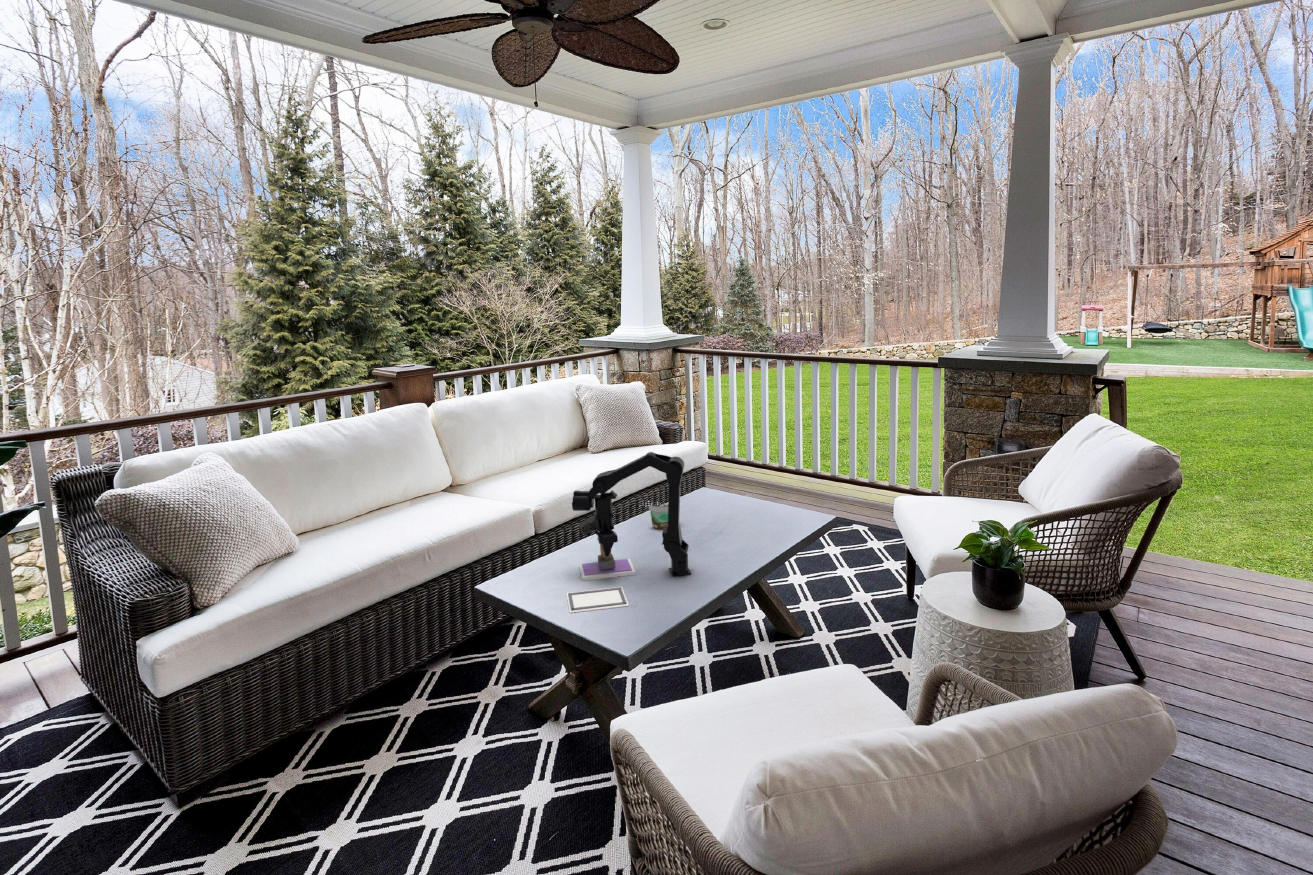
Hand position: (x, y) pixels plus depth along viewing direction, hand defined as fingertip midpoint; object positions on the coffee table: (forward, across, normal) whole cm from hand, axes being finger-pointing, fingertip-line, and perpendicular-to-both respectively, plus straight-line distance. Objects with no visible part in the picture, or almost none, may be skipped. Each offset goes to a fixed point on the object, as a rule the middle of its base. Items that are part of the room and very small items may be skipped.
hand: (606, 554), depth 236 cm
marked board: (+6, +22, -6) cm, 24 cm away
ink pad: (+6, 0, 0) cm, 6 cm away
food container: (+6, -37, +29) cm, 47 cm away
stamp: (+4, 0, 0) cm, 4 cm away
